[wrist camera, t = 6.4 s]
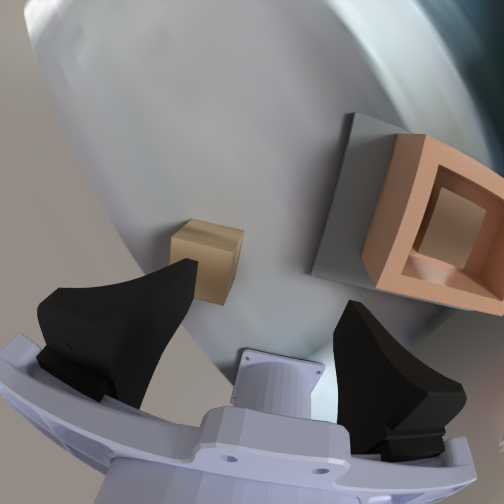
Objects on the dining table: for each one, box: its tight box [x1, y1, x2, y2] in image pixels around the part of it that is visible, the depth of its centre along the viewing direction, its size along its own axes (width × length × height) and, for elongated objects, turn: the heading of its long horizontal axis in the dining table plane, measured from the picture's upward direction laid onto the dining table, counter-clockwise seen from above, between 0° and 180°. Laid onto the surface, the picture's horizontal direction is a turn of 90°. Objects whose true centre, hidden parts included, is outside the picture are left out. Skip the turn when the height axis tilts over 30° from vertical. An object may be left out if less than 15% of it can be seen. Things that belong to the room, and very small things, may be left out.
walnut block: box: [412, 184, 486, 269], centre depth 14 cm, size 4×4×4 cm
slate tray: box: [311, 112, 473, 311], centre depth 17 cm, size 12×17×1 cm
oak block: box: [169, 219, 244, 306], centre depth 19 cm, size 4×4×4 cm
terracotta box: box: [360, 133, 504, 316], centre depth 14 cm, size 9×13×5 cm
